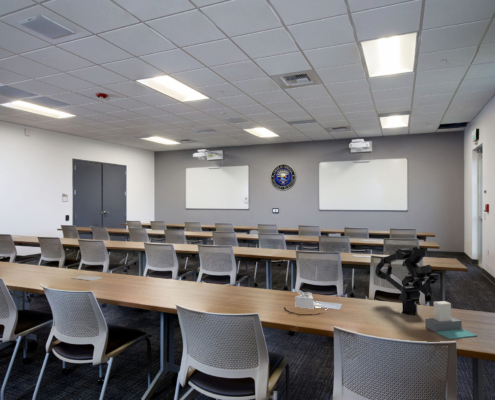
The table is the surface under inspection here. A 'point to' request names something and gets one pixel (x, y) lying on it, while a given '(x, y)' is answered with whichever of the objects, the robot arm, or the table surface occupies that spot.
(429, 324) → the plinth
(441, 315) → the card box
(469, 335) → the mat
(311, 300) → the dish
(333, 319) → the table surface
